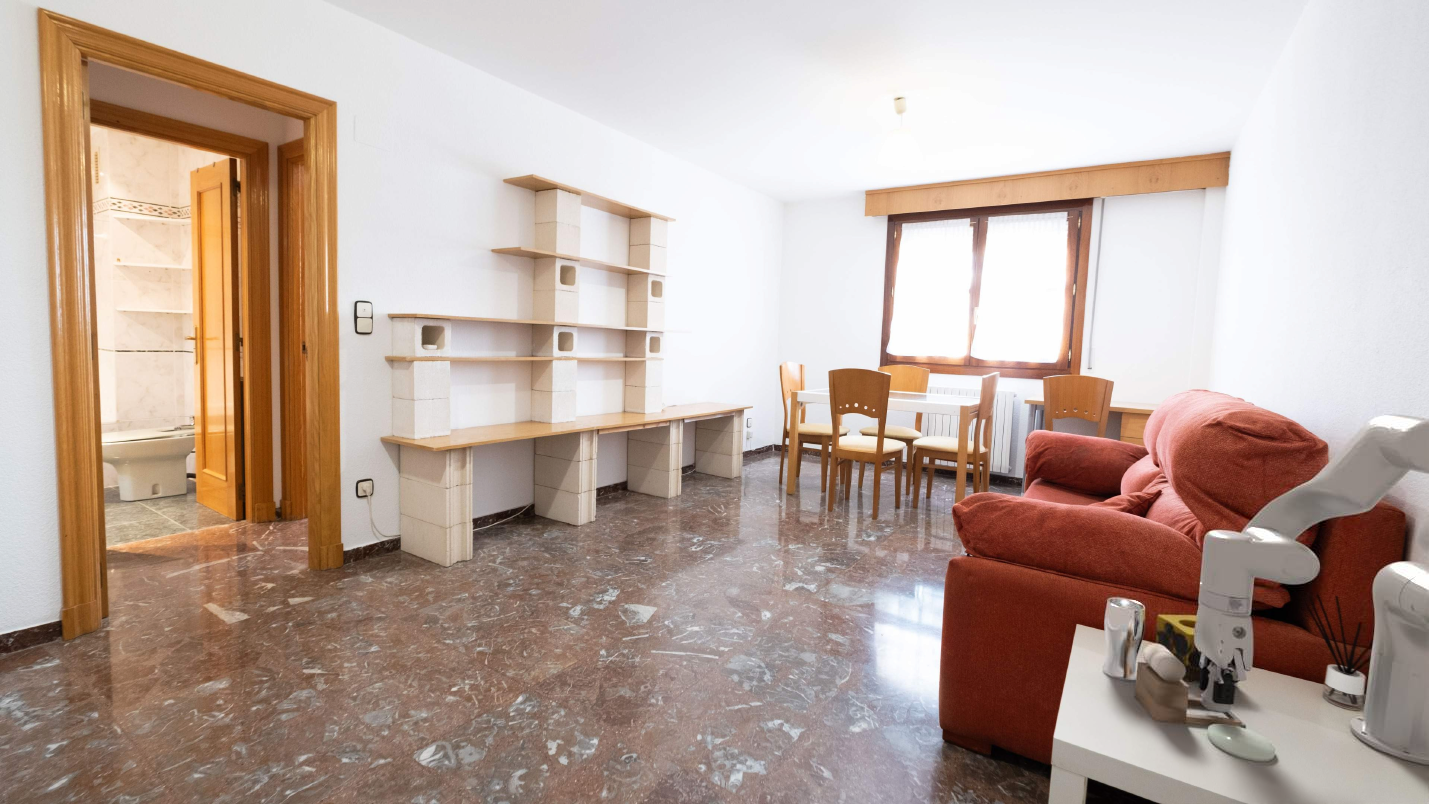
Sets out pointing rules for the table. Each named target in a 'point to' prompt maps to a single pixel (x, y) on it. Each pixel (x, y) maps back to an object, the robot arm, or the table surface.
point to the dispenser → (1170, 690)
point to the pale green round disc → (1241, 742)
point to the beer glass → (1123, 637)
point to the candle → (1180, 642)
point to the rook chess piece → (1208, 693)
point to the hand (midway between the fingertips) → (1215, 695)
